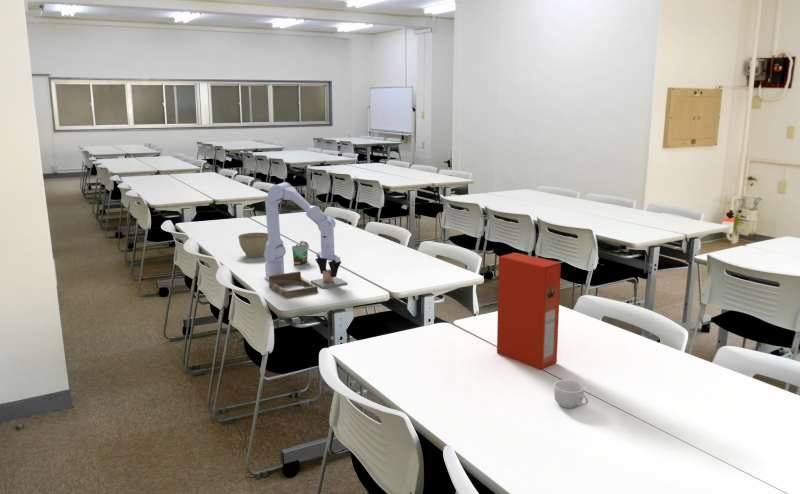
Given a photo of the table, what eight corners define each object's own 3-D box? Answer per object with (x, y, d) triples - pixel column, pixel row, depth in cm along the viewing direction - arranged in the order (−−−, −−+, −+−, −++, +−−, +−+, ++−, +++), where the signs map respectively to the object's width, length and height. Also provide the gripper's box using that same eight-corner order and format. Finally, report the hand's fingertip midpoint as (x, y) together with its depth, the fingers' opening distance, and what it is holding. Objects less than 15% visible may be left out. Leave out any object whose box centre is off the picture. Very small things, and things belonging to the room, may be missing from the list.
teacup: (546, 403, 171) (547, 384, 170) (566, 395, 176) (567, 377, 174) (577, 417, 163) (578, 398, 162) (596, 409, 168) (597, 390, 166)
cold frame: (269, 287, 279) (268, 276, 277) (300, 281, 286) (299, 271, 285) (285, 297, 263) (285, 286, 262) (317, 292, 271) (317, 280, 270)
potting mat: (310, 282, 285) (310, 280, 285) (335, 278, 292) (334, 276, 291) (322, 288, 276) (322, 286, 275) (347, 284, 282) (347, 282, 282)
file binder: (540, 370, 191) (544, 267, 184) (496, 353, 204) (498, 256, 197) (556, 363, 196) (561, 262, 189) (512, 347, 209) (515, 252, 202)
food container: (304, 266, 312) (303, 246, 310) (292, 266, 313) (291, 246, 311) (313, 260, 324) (312, 241, 321) (301, 260, 325) (300, 240, 322)
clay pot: (320, 281, 283) (320, 270, 282) (329, 279, 286) (328, 268, 285) (327, 283, 280) (326, 272, 279) (335, 281, 283) (335, 270, 282)
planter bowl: (276, 256, 333) (275, 235, 330) (246, 261, 324) (245, 240, 322) (264, 250, 346) (262, 230, 343) (235, 254, 337) (233, 234, 334)
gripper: (310, 244, 282) (311, 273, 285) (330, 249, 272) (331, 280, 275) (322, 241, 287) (324, 270, 290) (343, 246, 277) (344, 276, 280)
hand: (328, 275), depth 283 cm, fingers open, 7 cm apart
